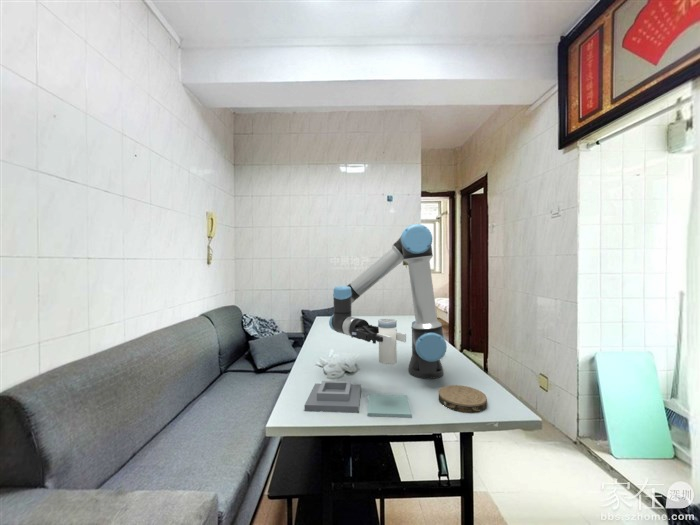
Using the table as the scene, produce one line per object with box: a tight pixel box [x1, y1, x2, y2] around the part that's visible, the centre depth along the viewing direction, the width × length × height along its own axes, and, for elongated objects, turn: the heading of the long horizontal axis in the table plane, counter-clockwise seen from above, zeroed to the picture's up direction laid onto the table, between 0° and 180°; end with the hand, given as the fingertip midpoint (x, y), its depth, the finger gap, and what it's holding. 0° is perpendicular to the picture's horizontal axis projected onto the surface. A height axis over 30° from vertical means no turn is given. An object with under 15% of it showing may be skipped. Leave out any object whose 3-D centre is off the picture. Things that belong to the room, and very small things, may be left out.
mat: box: [367, 393, 413, 418], centre depth 102 cm, size 14×14×1 cm
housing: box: [304, 380, 362, 414], centre depth 107 cm, size 18×18×4 cm
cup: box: [377, 318, 398, 365], centre depth 102 cm, size 6×6×14 cm
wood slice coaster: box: [438, 384, 488, 414], centre depth 105 cm, size 16×16×3 cm
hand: (398, 339), depth 98 cm, fingers closed on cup, 6 cm apart
